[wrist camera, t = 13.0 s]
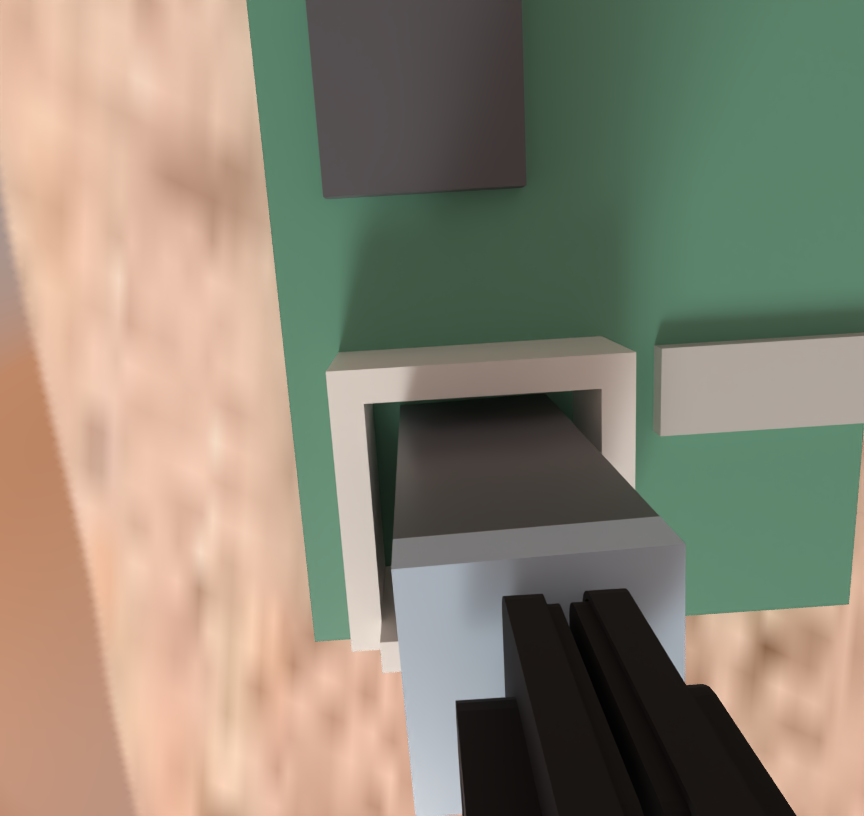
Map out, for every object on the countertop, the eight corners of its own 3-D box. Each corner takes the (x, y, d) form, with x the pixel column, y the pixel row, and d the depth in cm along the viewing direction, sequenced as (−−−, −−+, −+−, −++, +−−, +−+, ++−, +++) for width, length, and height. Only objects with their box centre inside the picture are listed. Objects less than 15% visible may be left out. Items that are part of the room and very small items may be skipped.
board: (244, -109, 17) (223, -154, 15) (880, -140, 18) (938, -189, 16) (320, 620, 22) (311, 657, 20) (825, 585, 22) (865, 618, 20)
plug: (400, 405, 19) (391, 569, 9) (545, 393, 19) (685, 543, 9) (412, 540, 20) (415, 818, 10) (550, 528, 20) (684, 793, 10)
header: (338, 352, 19) (320, 379, 15) (601, 335, 19) (650, 359, 15) (359, 593, 20) (348, 675, 16) (602, 576, 20) (647, 654, 17)
